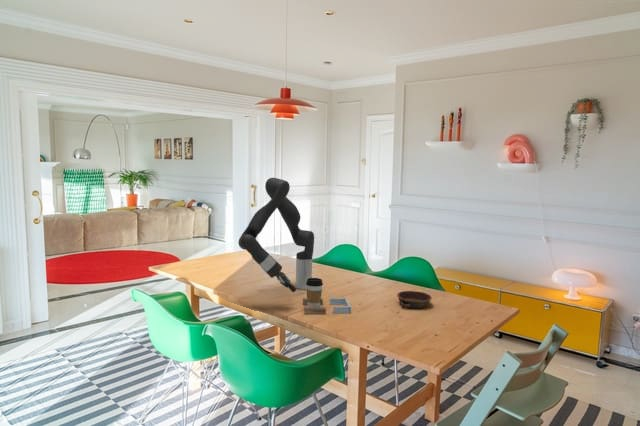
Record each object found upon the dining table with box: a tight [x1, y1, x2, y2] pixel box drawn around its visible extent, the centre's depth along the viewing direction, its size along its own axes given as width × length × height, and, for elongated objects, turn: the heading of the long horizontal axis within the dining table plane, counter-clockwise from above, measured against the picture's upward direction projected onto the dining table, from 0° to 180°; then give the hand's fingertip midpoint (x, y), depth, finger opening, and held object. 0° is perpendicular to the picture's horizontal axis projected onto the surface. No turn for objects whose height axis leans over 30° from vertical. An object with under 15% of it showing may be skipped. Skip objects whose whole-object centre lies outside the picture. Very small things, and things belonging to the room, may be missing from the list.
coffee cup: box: [306, 277, 324, 307], centre depth 217 cm, size 8×8×15 cm
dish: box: [396, 290, 432, 309], centre depth 229 cm, size 18×22×5 cm
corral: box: [329, 297, 352, 314], centre depth 219 cm, size 14×8×3 cm, turn 5°
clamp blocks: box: [302, 297, 327, 315], centre depth 218 cm, size 17×10×2 cm, turn 5°
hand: (294, 290), depth 216 cm, fingers closed
